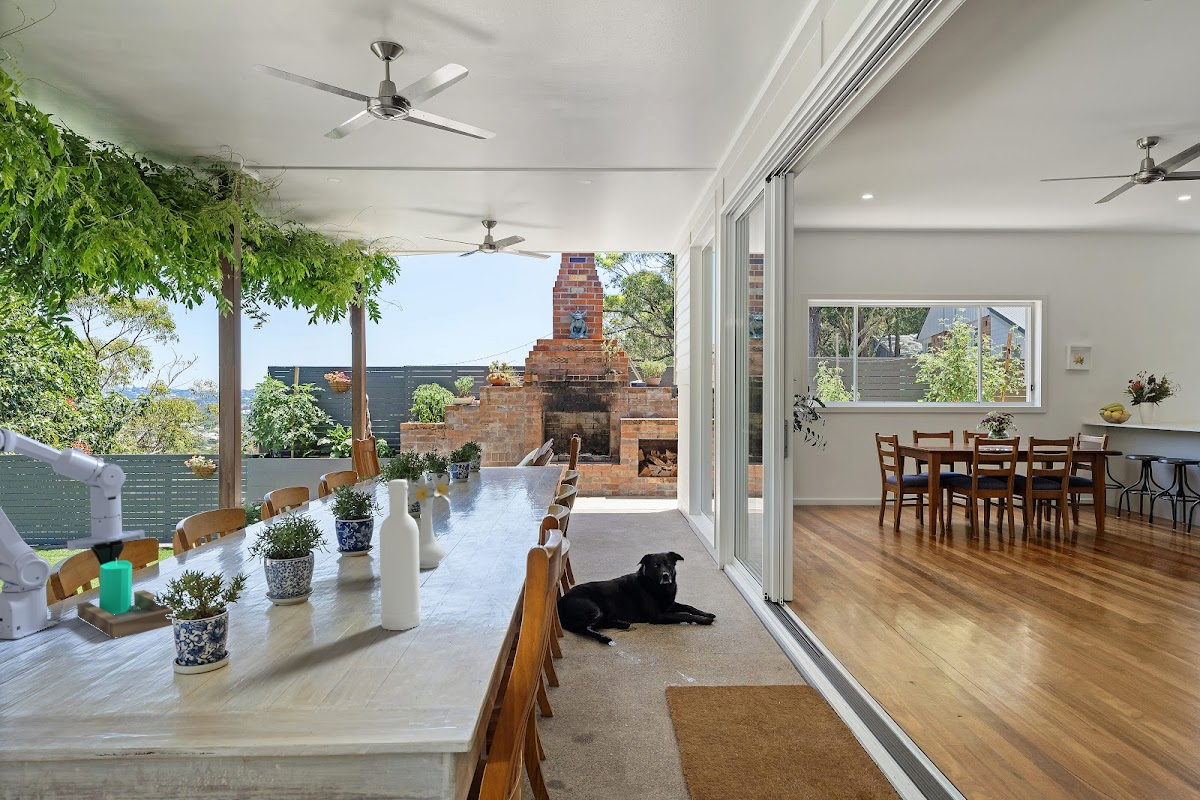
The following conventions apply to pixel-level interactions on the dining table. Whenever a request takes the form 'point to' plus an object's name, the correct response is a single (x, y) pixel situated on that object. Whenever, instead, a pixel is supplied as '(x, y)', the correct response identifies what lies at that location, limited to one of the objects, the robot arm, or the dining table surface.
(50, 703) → the dining table surface
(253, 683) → the dining table surface
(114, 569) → the candle
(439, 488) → the flower vase
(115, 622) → the u rest
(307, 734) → the dining table surface
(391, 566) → the bottle
